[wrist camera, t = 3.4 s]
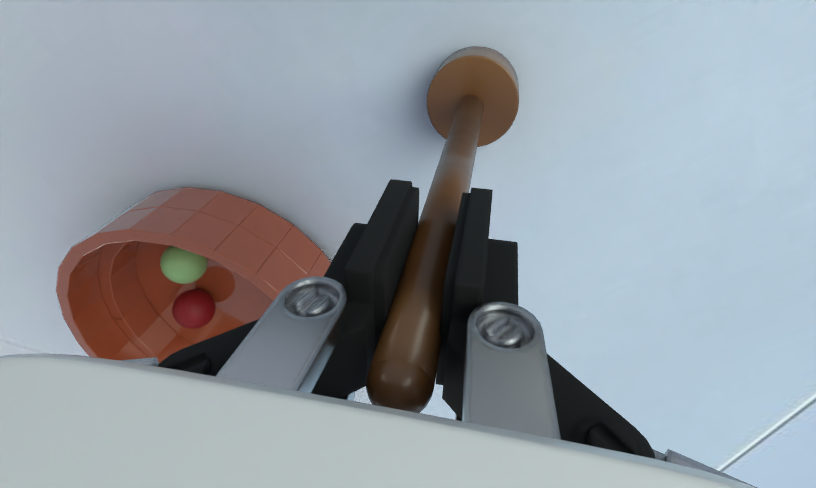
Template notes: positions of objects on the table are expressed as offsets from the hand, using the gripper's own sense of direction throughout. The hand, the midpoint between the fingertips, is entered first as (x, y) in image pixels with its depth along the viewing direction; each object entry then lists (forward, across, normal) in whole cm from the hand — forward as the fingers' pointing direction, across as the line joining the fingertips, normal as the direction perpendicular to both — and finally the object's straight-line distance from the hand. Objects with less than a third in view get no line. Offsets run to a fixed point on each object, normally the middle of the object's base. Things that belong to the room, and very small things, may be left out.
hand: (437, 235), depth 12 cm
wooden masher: (+14, 0, 0) cm, 14 cm away
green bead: (+12, +19, +13) cm, 26 cm away
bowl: (+14, +17, +17) cm, 28 cm away
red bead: (+12, +20, +17) cm, 28 cm away
